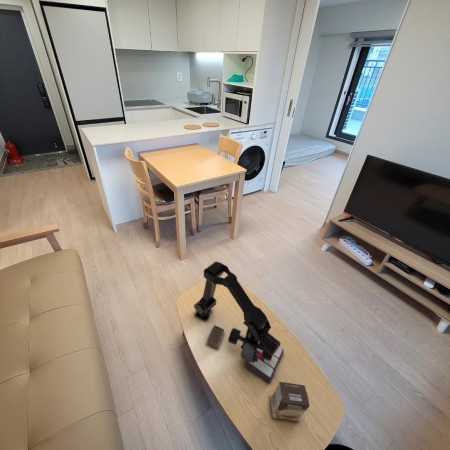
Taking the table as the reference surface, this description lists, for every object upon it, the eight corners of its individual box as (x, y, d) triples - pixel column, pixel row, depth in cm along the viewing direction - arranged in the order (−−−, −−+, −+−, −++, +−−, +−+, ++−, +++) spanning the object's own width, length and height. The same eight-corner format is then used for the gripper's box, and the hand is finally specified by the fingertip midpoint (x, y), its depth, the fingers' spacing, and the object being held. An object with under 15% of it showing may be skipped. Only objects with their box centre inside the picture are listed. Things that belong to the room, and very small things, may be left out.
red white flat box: (284, 348, 103) (271, 378, 93) (282, 353, 106) (269, 383, 95) (261, 334, 108) (246, 361, 98) (260, 339, 111) (245, 366, 101)
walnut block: (207, 344, 108) (207, 339, 105) (214, 329, 114) (214, 324, 111) (217, 349, 106) (217, 344, 104) (223, 334, 112) (224, 329, 110)
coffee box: (272, 418, 86) (281, 403, 77) (270, 398, 91) (278, 381, 82) (297, 421, 85) (310, 406, 76) (294, 400, 91) (305, 384, 81)
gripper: (224, 342, 92) (222, 360, 101) (272, 364, 86) (264, 381, 95) (234, 319, 100) (230, 337, 109) (277, 337, 94) (270, 355, 103)
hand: (248, 352), depth 104 cm, fingers closed
